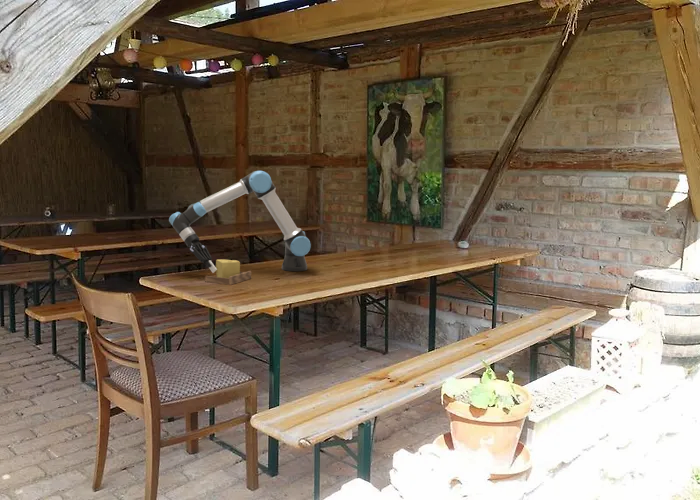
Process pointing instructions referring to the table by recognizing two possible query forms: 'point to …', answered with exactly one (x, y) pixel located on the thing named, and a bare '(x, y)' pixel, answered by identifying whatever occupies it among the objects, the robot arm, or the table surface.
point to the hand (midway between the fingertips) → (215, 271)
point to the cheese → (227, 268)
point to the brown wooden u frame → (231, 279)
